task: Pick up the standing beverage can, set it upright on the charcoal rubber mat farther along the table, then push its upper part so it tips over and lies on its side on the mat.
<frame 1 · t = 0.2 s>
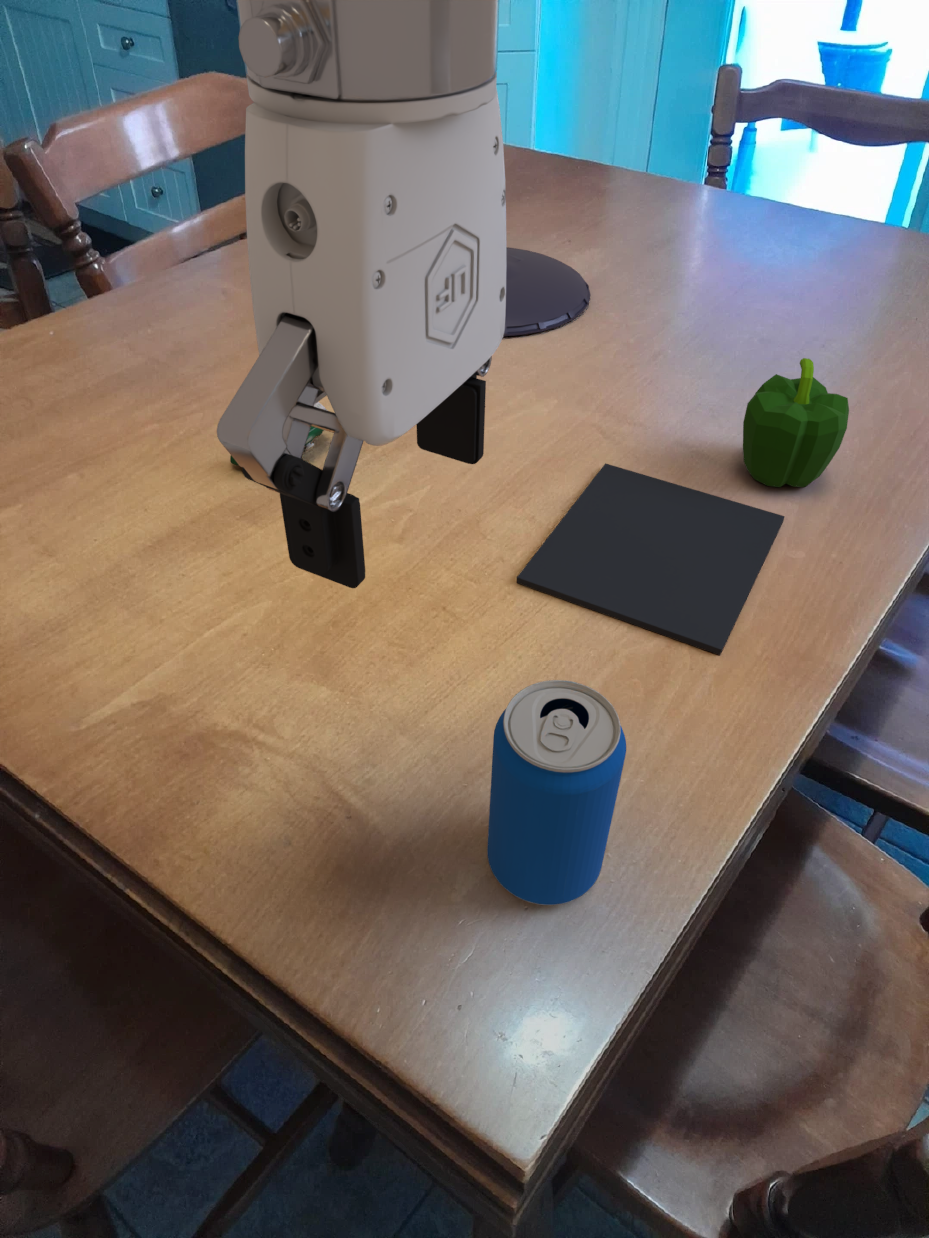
hand: (393, 508, 38), 22 cm above the table, tool pointing down, fingers open, 9 cm apart
gaming controller: (287, 455, 82), on the table
toy spaceship: (478, 289, 109), on the table
bell pepper: (779, 475, 80), on the table
beverage can: (543, 862, 51), on the table
mat: (655, 551, 72), on the table
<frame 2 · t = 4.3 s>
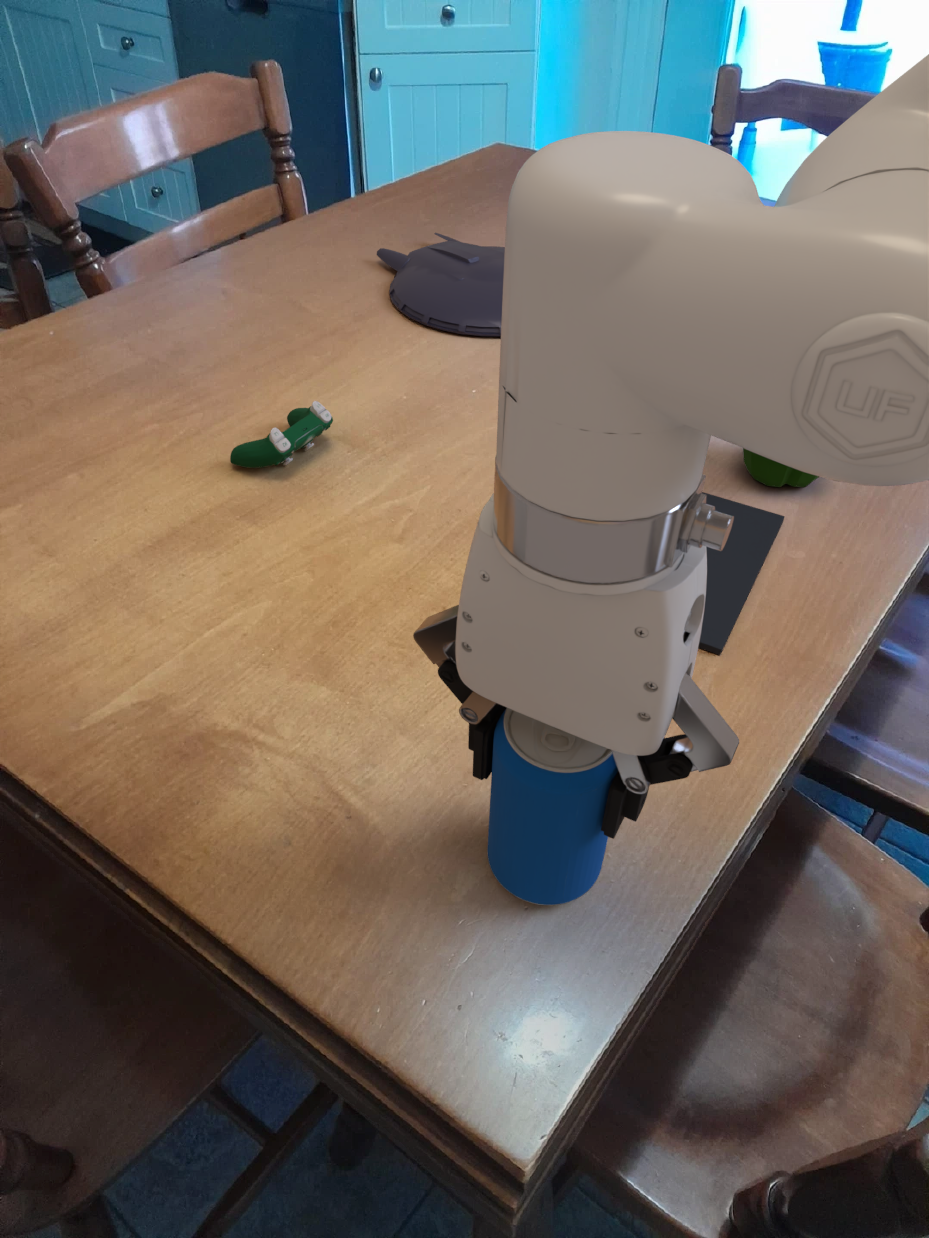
hand: (553, 785, 46), 7 cm above the table, tool pointing down, fingers closed on beverage can, 6 cm apart
beverage can: (543, 862, 51), on the table, touching gripper
everything else where it was.
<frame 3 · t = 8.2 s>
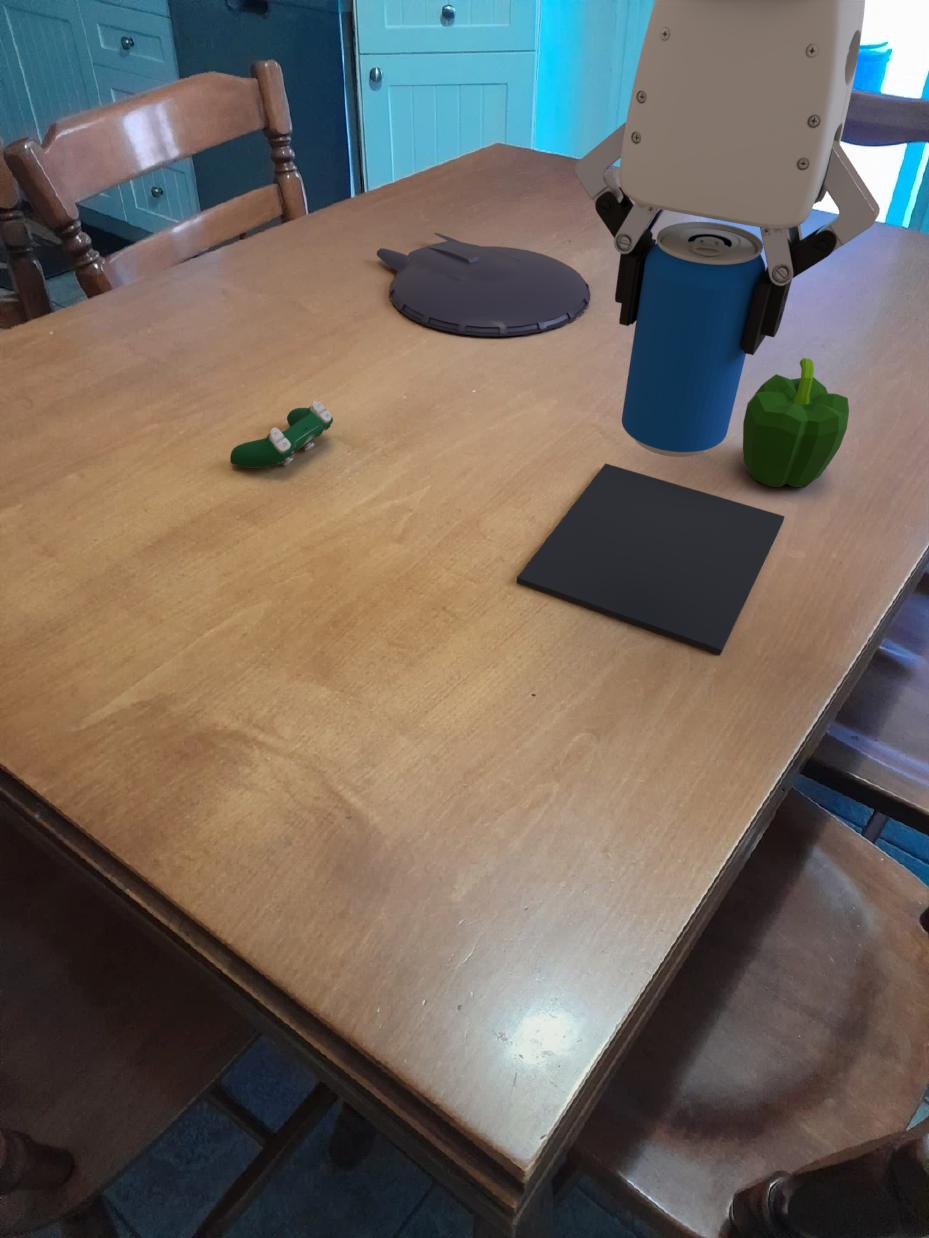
hand: (692, 327, 52), 22 cm above the table, tool pointing down, fingers closed on beverage can, 6 cm apart
beverage can: (671, 438, 56), point 15 cm above the table, touching gripper
everything else where it was.
when the fingers open (8 cm above the table, at t = 12.0 s): beverage can stays where it is, resting on mat.
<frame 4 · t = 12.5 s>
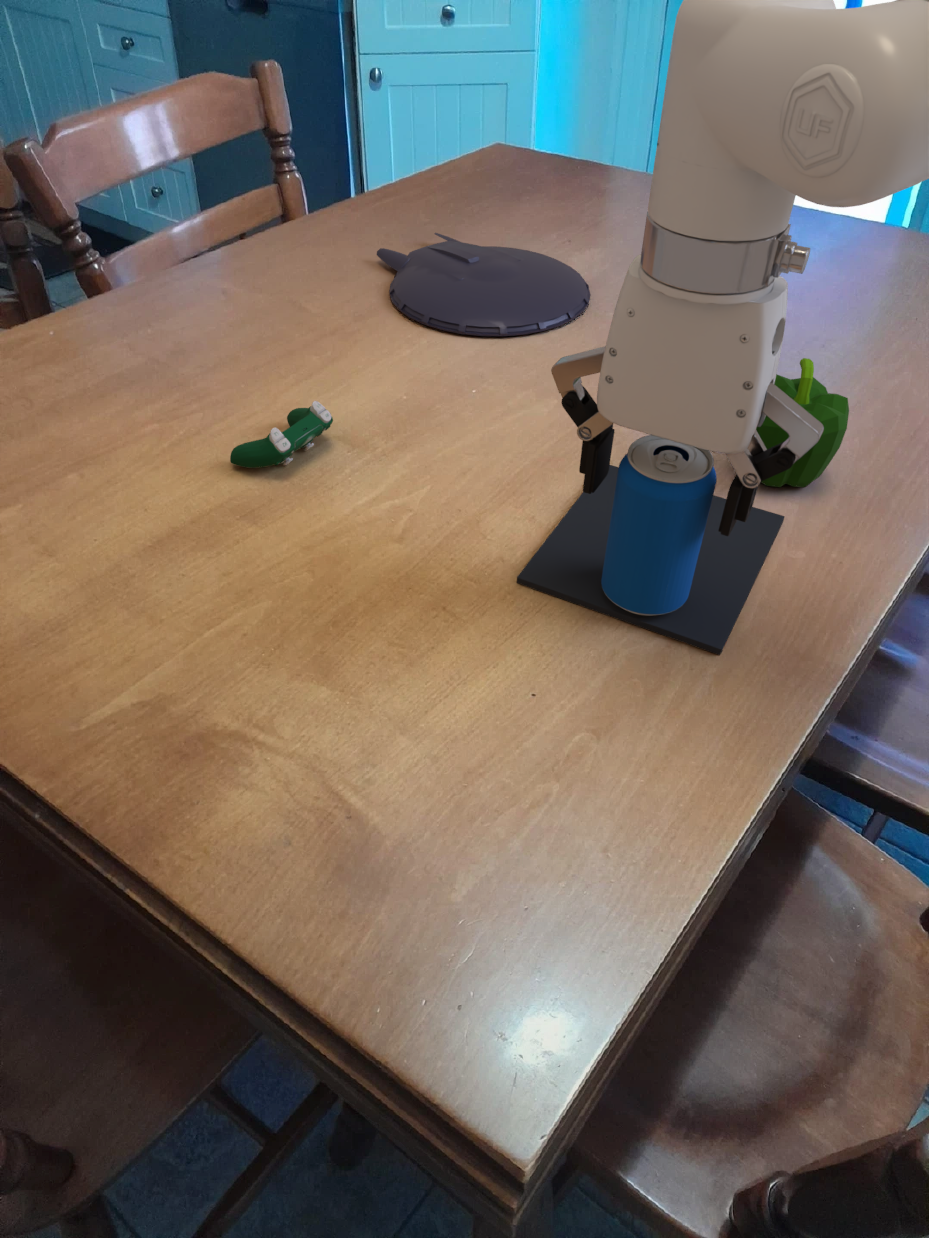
hand: (660, 503, 62), 9 cm above the table, tool pointing down, fingers open, 9 cm apart
beverage can: (643, 595, 67), resting on mat
everything else where it was.
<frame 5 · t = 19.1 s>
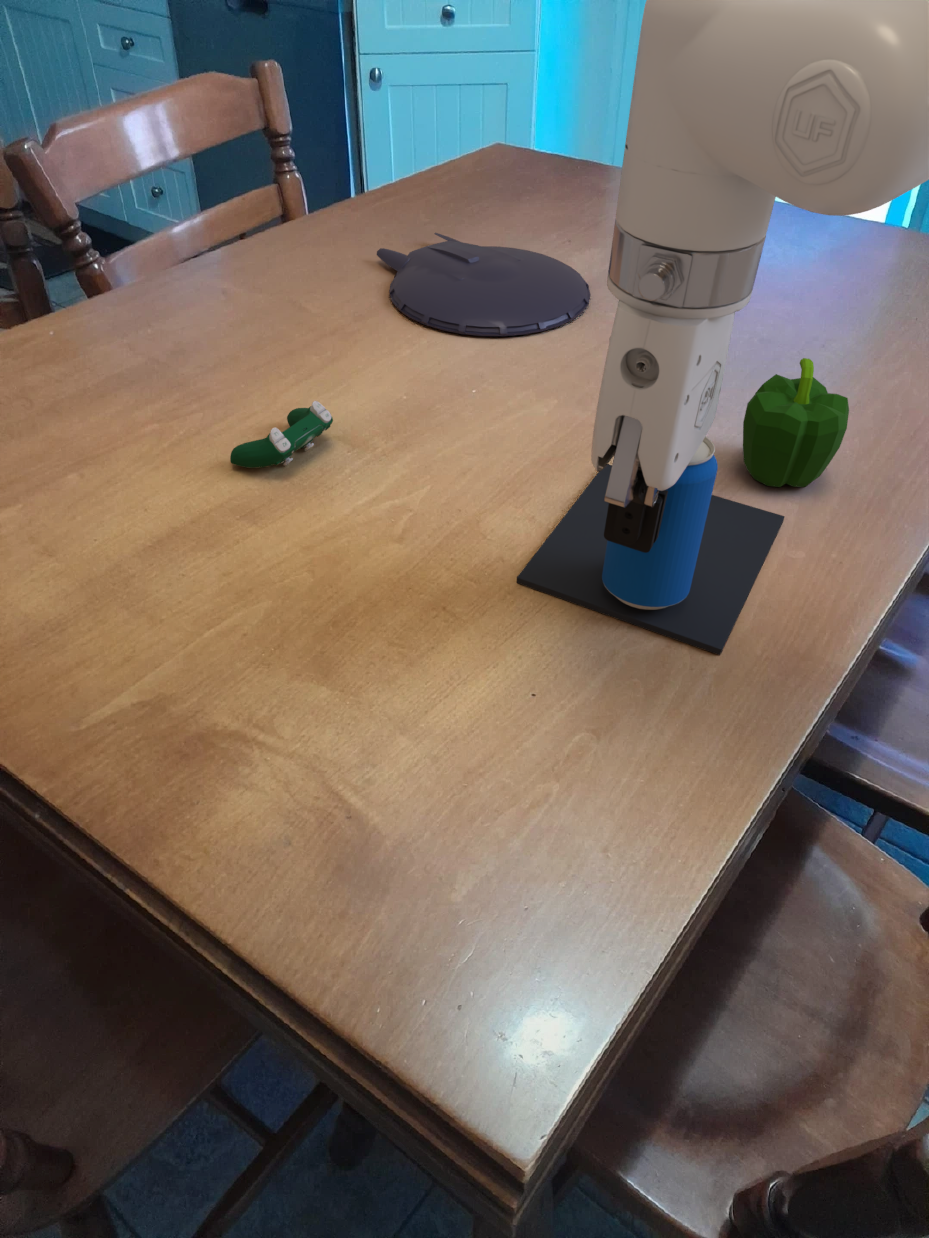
hand: (630, 539, 59), 9 cm above the table, tool pointing down, fingers closed
beverage can: (643, 592, 67), point 1 cm above the table, touching gripper, mat
everything else where it was.
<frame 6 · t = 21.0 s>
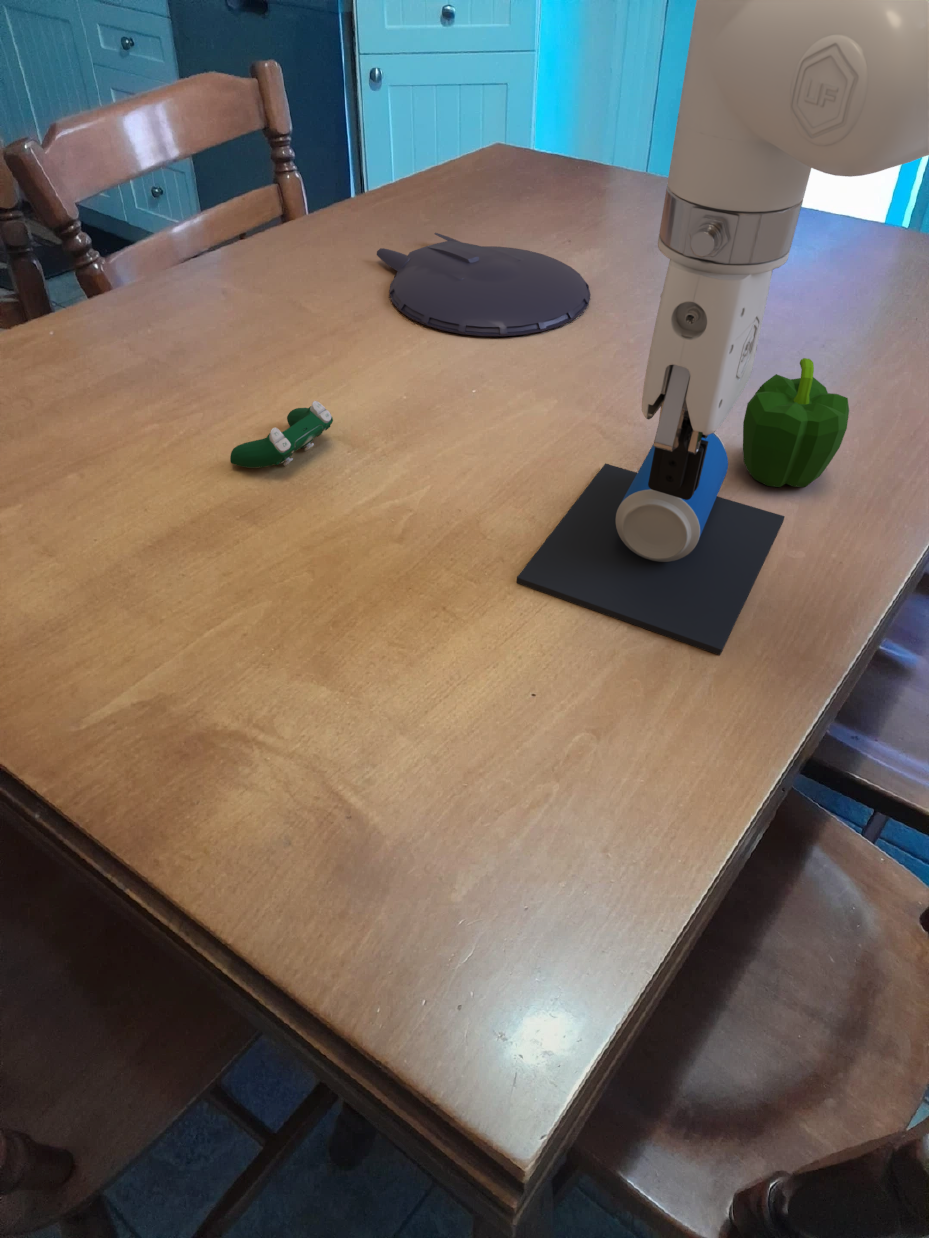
hand: (672, 488, 64), 8 cm above the table, tool pointing down, fingers closed
beverage can: (653, 534, 67), point 4 cm above the table, touching mat
everything else where it was.
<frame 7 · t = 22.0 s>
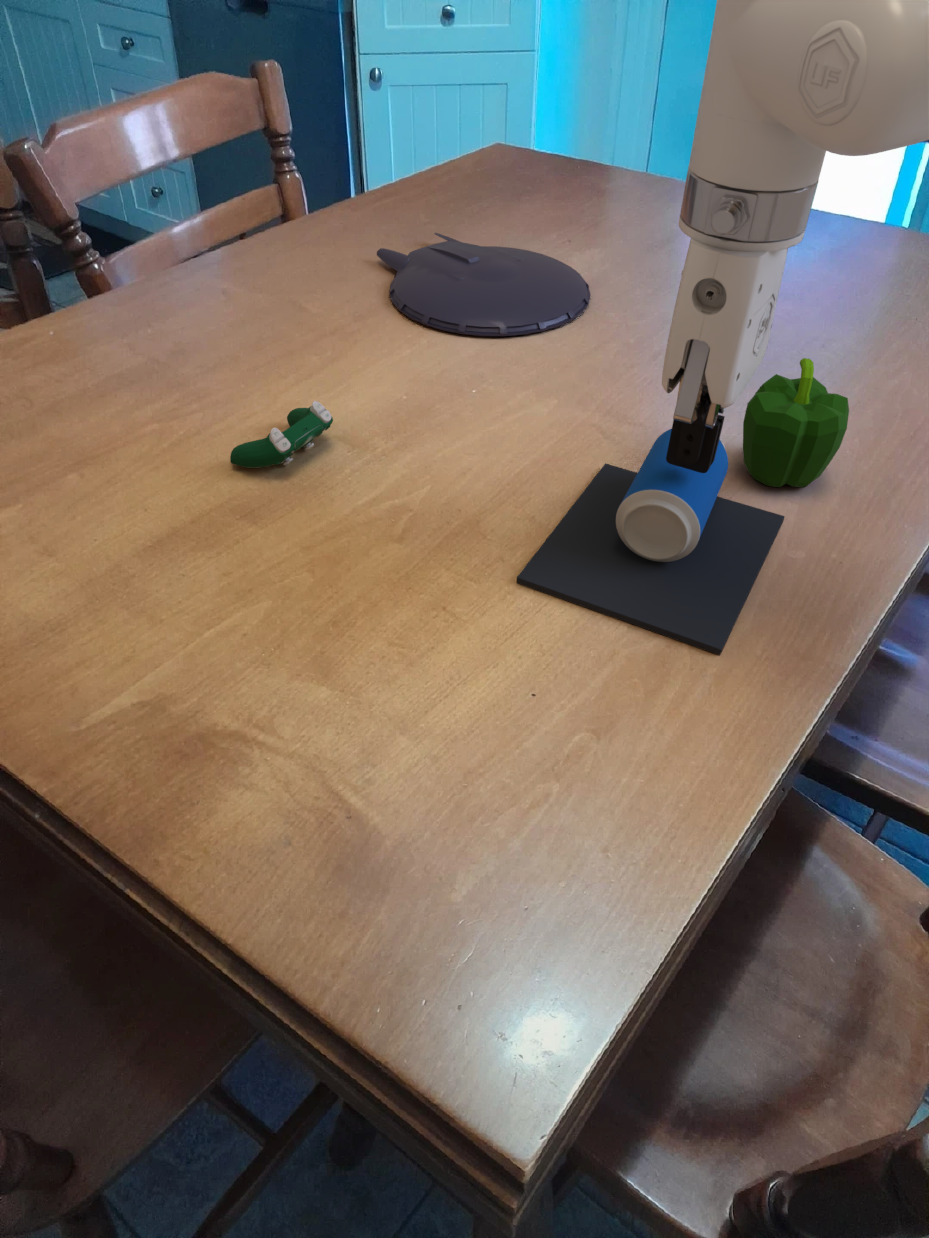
hand: (689, 462, 67), 8 cm above the table, tool pointing down, fingers closed
nothing on the table moved.
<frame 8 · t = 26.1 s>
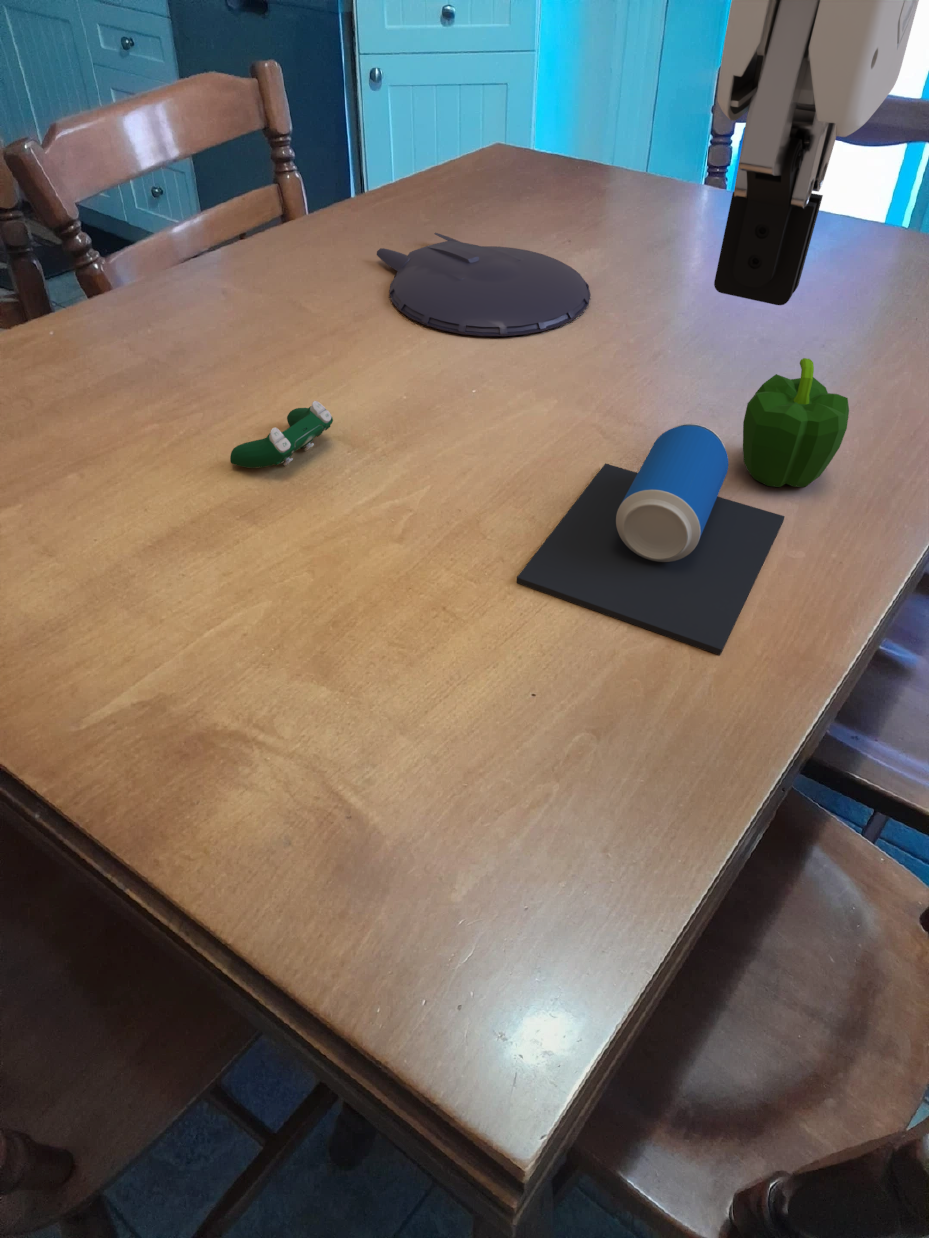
hand: (754, 291, 38), 29 cm above the table, tool pointing down, fingers closed
nothing on the table moved.
at the end: beverage can tilted 90°; beverage can inside the target area on the mat (3.0 cm from its centre), point 3.8 cm above the mat's base; the gripper is holding nothing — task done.
